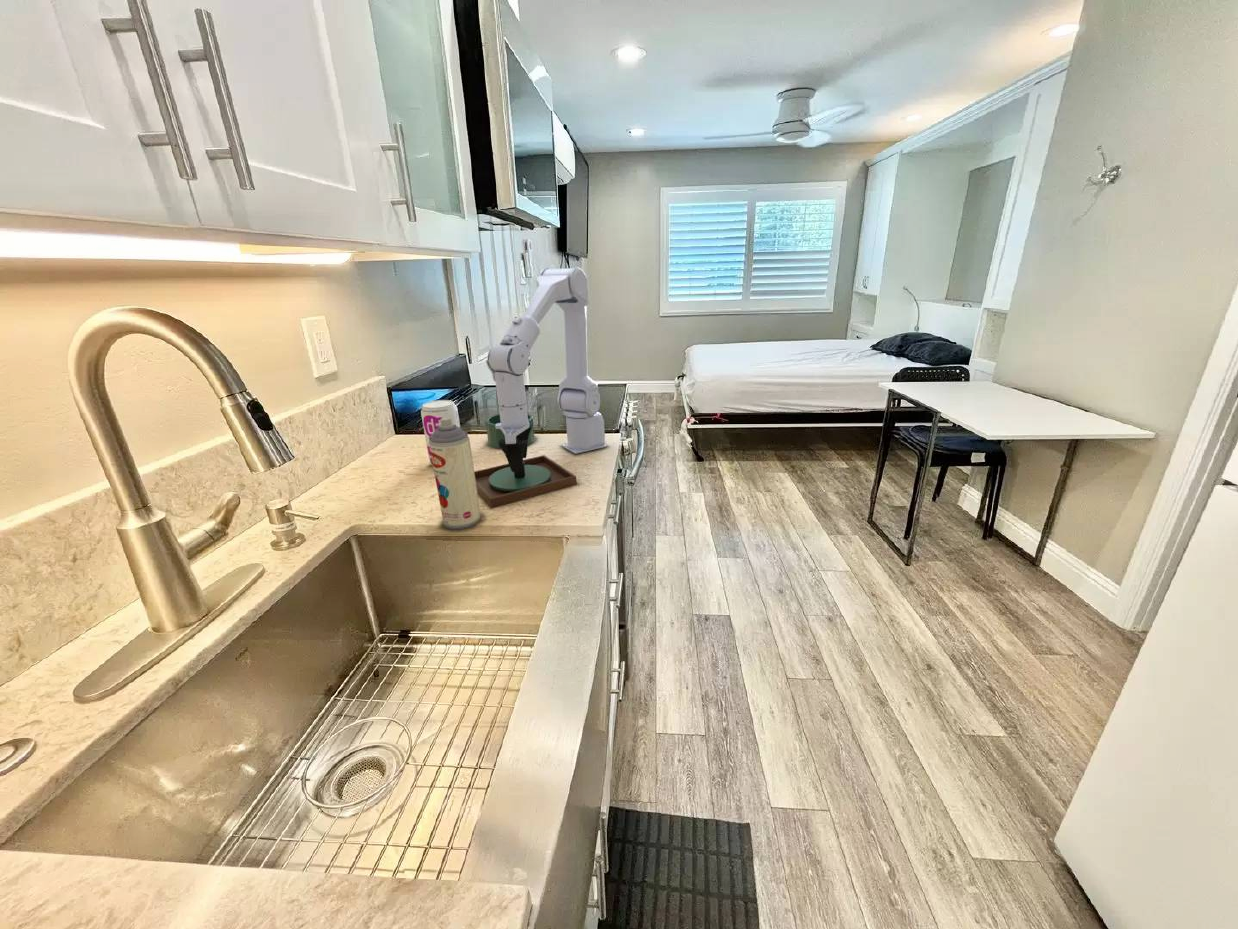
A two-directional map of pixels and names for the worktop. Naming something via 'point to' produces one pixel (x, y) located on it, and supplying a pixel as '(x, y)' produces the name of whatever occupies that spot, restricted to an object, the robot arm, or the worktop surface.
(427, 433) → the supplement can
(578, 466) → the worktop surface
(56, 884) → the worktop surface
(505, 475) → the tin lid
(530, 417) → the tin
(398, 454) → the worktop surface
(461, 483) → the aerosol can
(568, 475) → the tray
